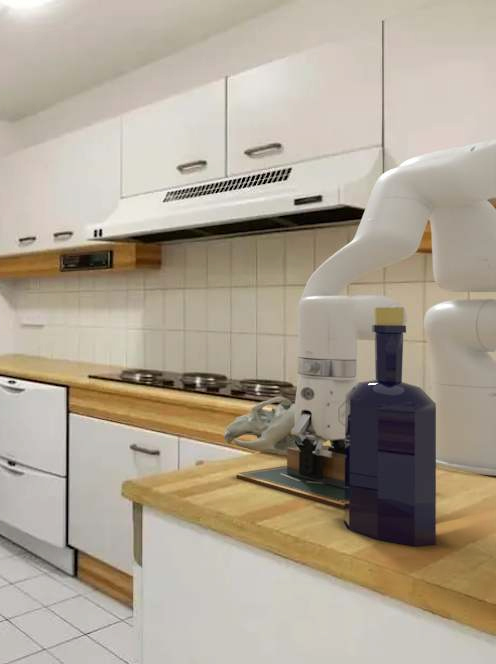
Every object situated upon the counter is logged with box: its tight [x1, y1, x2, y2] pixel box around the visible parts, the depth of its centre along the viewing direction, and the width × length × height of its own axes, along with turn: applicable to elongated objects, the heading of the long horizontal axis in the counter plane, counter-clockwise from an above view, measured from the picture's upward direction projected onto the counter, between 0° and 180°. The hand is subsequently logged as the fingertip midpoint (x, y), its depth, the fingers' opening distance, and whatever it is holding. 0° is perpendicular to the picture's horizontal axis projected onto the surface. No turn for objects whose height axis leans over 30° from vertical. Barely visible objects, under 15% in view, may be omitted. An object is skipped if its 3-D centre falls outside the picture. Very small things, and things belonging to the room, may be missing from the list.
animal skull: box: [223, 396, 334, 456], centre depth 113 cm, size 18×12×13 cm
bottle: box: [343, 307, 438, 547], centre depth 73 cm, size 9×9×30 cm
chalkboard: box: [236, 465, 345, 511], centre depth 92 cm, size 22×16×1 cm
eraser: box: [286, 447, 345, 488], centre depth 92 cm, size 4×9×4 cm, turn 20°
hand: (325, 474), depth 92 cm, fingers open, 6 cm apart
